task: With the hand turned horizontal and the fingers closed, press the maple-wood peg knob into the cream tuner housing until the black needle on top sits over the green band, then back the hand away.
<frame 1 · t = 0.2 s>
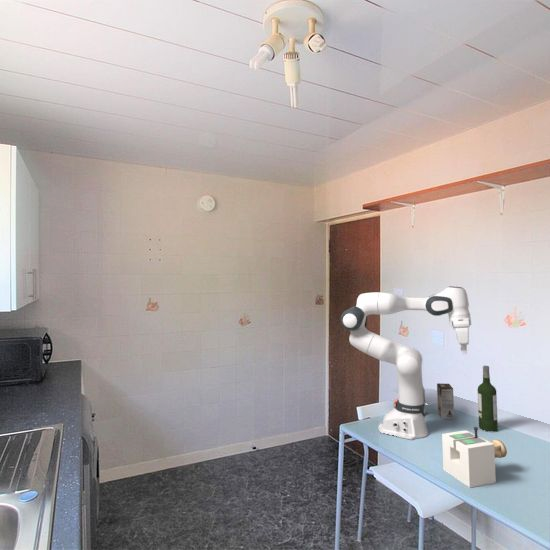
hand: (463, 352, 165), 39 cm above the table, tool pointing down, fingers open, 8 cm apart
energy drink can: (419, 414, 198), on the table
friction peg: (485, 442, 136), point 11 cm above the table, slide at 0.0 cm
coffee box: (445, 416, 194), on the table
wine bottle: (488, 429, 176), on the table
tuner housing: (480, 473, 135), on the table
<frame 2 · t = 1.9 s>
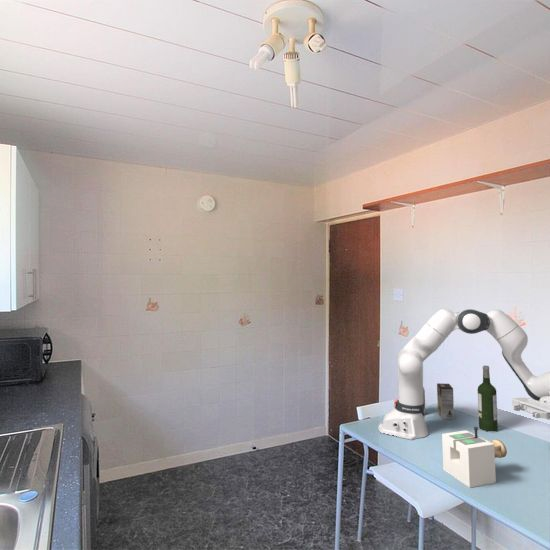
hand: (524, 411, 141), 20 cm above the table, tool horizontal, fingers open, 7 cm apart
nothing on the table moved.
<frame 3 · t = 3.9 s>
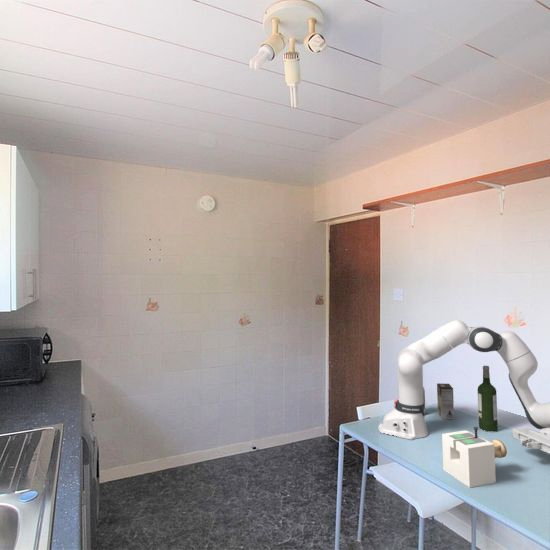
hand: (524, 444, 141), 8 cm above the table, tool horizontal, fingers closed
nothing on the table moved.
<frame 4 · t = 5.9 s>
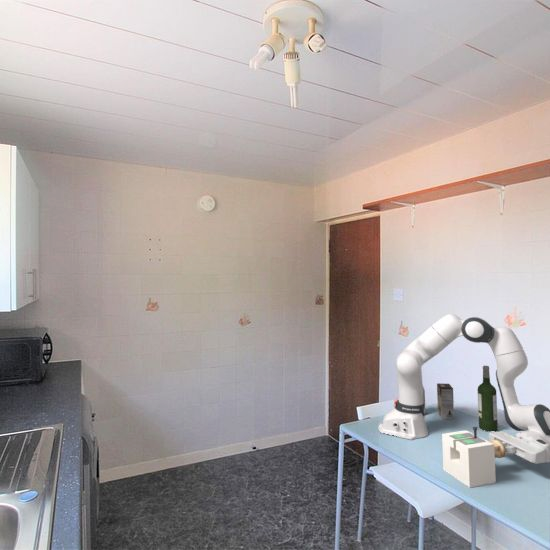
hand: (499, 448, 138), 8 cm above the table, tool horizontal, fingers closed, pressing on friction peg
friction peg: (485, 442, 136), point 11 cm above the table, slide at 0.3 cm, touching gripper
everything else where it was.
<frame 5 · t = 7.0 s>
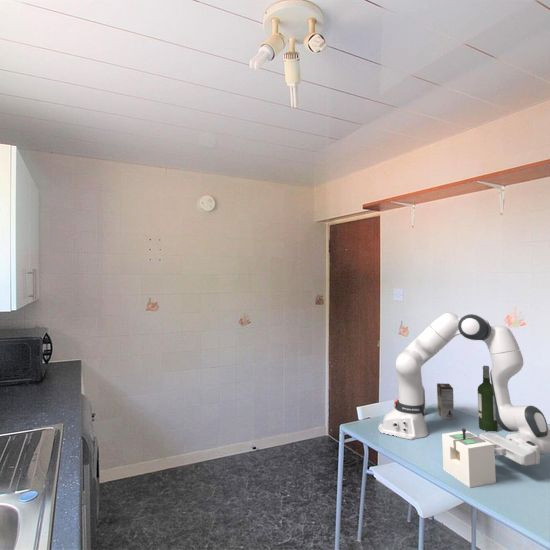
hand: (488, 450, 136), 8 cm above the table, tool horizontal, fingers closed, pressing on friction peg
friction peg: (474, 443, 135), point 11 cm above the table, slide at 5.3 cm, touching gripper
everything else where it was.
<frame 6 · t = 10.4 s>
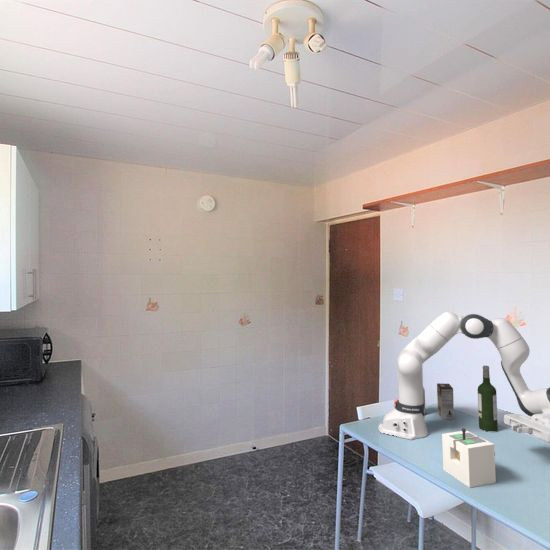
hand: (515, 429, 140), 14 cm above the table, tool horizontal, fingers closed
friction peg: (473, 444, 135), point 11 cm above the table, slide at 5.3 cm
everything else where it was.
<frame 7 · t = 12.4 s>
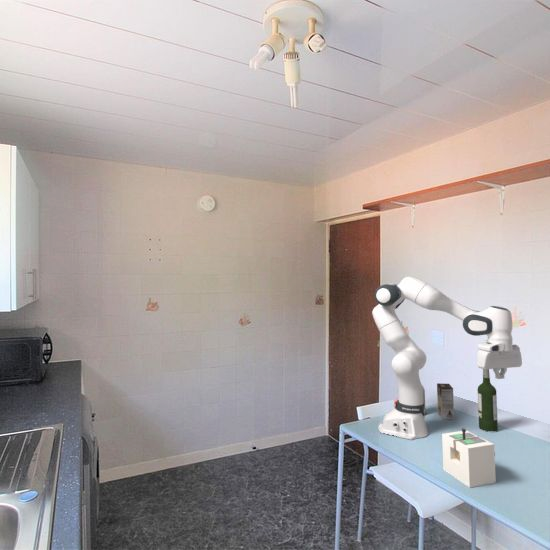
hand: (499, 378, 153), 30 cm above the table, tool pointing down, fingers closed
nothing on the table moved.
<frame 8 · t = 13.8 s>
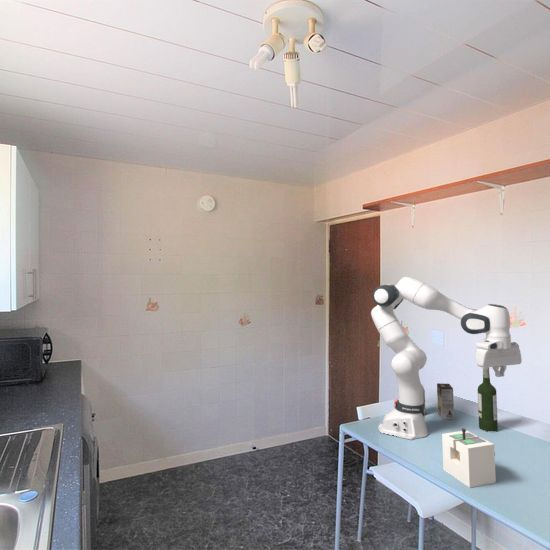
hand: (499, 376, 153), 31 cm above the table, tool pointing down, fingers closed
nothing on the table moved.
at the end: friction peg slide at 5.3 cm; the gripper is holding nothing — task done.
